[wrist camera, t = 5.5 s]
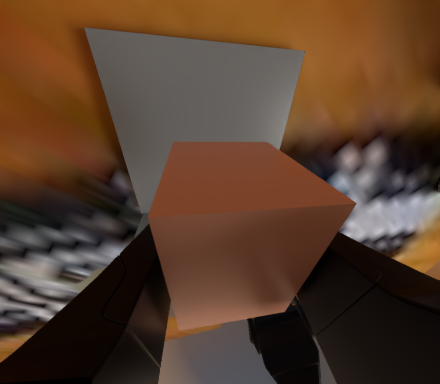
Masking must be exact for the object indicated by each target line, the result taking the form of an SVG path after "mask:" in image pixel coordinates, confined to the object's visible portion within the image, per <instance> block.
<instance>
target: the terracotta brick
mask: <svg viewBox="0 0 440 384" xmlns="http://www.w3.org/2000/svg"><path fill="white" fill-rule="evenodd" d="M356 204H357V203H355V202H354V201H352V200H351V199H350V198H348V197H347V196H345V195H344V194H342V193H341V192H339V191H338V190H336V189H335V188H334V187H332V186H331V185H329V184H328V183H326V182H325V181H323V180H322V179H320V178H319V177H318V176H316V175H315V174H313V173H312V172H310V171H309V170H307V169H306V168H305V167H303V166H302V165H300V164H299V163H297V162H296V161H294V160H293V159H291V158H290V157H289V156H287V155H286V154H284V153H283V152H281V151H280V150H278V149H277V148H275V147H274V146H273V145H271V144H270V143H268V142H173V144H172V147H171V150H170V153H169V156H168V159H167V162H166V165H165V168H164V171H163V174H162V177H161V180H160V183H159V185H158V188H157V191H156V194H155V197H154V200H153V203H152V206H151V209H150V212H149V215H148V221H149V224H150V228H151V231H152V235H153V238H154V242H155V246H156V249H157V253H158V256H159V260H160V263H161V267H162V270H163V274H164V278H165V281H166V285H167V288H168V292H169V295H170V299H171V302H172V306H173V309H174V313H175V317H176V320H177V324H178V327H179V331H181V330H186V329H192V328H197V327H203V326H209V325H214V324H220V323H225V322H230V321H236V320H242V319H248V318H253V317H259V316H264V315H270V314H275V313H281V312H285V310H286V309H287V307H288V306H289V304H290V303H291V301H292V300H293V298H294V297H295V295H296V294H297V292H298V291H299V289H300V288H301V286H302V285H303V283H304V282H305V280H306V279H307V277H308V276H309V274H310V273H311V271H312V270H313V268H314V267H315V265H316V264H317V262H318V261H319V259H320V258H321V256H322V255H323V253H324V252H325V250H326V249H327V247H328V246H329V244H330V243H331V241H332V240H333V238H334V237H335V235H336V234H337V232H338V231H339V229H340V228H341V226H342V225H343V223H344V222H345V220H346V219H347V217H348V216H349V214H350V213H351V211H352V210H353V208H354V207H355V205H356Z"/></svg>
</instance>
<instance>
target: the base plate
mask: <svg viewBox="0 0 440 384" xmlns="http://www.w3.org/2000/svg"><path fill="white" fill-rule="evenodd" d="M84 29H85V32H86V35H87V38H88V42H89V45H90V48H91V51H92V55H93V58H94V61H95V65H96V68H97V71H98V74H99V78H100V81H101V84H102V87H103V91H104V94H105V97H106V100H107V104H108V107H109V110H110V113H111V117H112V120H113V123H114V126H115V130H116V133H117V136H118V140H119V143H120V146H121V149H122V153H123V156H124V159H125V162H126V166H127V169H128V172H129V175H130V179H131V182H132V185H133V188H134V192H135V195H136V198H137V201H138V205H139V208H140V211H141V214H143V213H149V212H150V209H151V206H152V203H153V200H154V197H155V194H156V191H157V188H158V185H159V183H160V180H161V177H162V174H163V171H164V168H165V165H166V162H167V159H168V156H169V153H170V150H171V147H172V144H173V142H268V143H270V144H271V145H273V146H274V147H275V148H277V149H278V150H279V149H280V146H281V142H282V138H283V134H284V130H285V127H286V123H287V119H288V115H289V111H290V107H291V104H292V100H293V96H294V92H295V88H296V85H297V81H298V77H299V73H300V69H301V66H302V62H303V58H304V54H305V51H300V50H291V49H282V48H272V47H263V46H253V45H244V44H235V43H225V42H216V41H206V40H197V39H188V38H178V37H169V36H159V35H150V34H141V33H131V32H122V31H112V30H103V29H94V28H84Z"/></svg>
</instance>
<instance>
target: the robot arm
mask: <svg viewBox="0 0 440 384" xmlns="http://www.w3.org/2000/svg"><path fill="white" fill-rule="evenodd" d="M296 295H297V297H298V299H297V297H296ZM296 295H295V297H294V298H293V300H292V301H291V303H290V304H289V306H288V307H287V309H286V310H285V312H281V313H275V314H270V315H264V316H259V317H253V318H248V319H247V320H248V327H249V335H250V341H251V343H253V344H254V345H255V348H256V350H257V352H258V354H259V355H260V354H262V357H263V361H264V364H265V367H266V369H267V370H268V371H269V373H270V375H271V376H272V377H273V378H274V380H275V381H276V383H277V384H321V372H320V360H319V350H318V348H317V346H316V344H315V342H314V340H313V338H315V337H316V339H317V341H318V344H319V346H320V348H321V350H322V352H323V355H324V357H325V359H326V361H327V363H328V365H329V367H330V370H331V372H332V374H333V376H334V378H335V380H336V383H337V384H440V280H437V279H435V278H432V277H430V276H428V275H426V274H424V273H421V272H419V271H417V270H415V269H413V268H411V267H409V266H407V265H405V264H402V263H400V262H398V261H396V260H394V259H392V258H390V257H388V256H386V255H384V254H382V253H379V252H377V251H375V250H373V249H371V248H369V247H367V246H365V245H363V244H361V243H359V242H357V241H355V240H353V239H352V238H350V237H348V236H346V235H344V234H342V233H340V232H337V234H336V235H335V237H334V238H333V240H332V241H331V243H330V244H329V246H328V247H327V249H326V250H325V252H324V253H323V255H322V256H321V258H320V259H319V261H318V262H317V264H316V265H315V267H314V268H313V270H312V271H311V273H310V274H309V276H308V277H307V279H306V280H305V282H304V283H303V285H302V286H301V288H300V289H299V291H298V292H297V294H296ZM298 300H299V301H298ZM170 302H171V299H170V295H169V292H168V288H167V285H166V281H165V278H164V274H163V270H162V267H161V263H160V260H159V256H158V253H157V249H156V246H155V242H154V238H153V235H152V231H151V228H150V224H148V225H147V226H146V227H145V228H144V229H143V230H142V231H141V232H140V233H139V234H138V235H137V236H136V237H135V238H134V240H133V241H132V242H131V243H130V244H129V245H128V246H127V247H126V248H125V249H124V250H123V251H122V252H121V253H120V255H118V256H117V257H116V258H115V259H114V260H113V261H112V262H111V263H110V264H109V265H108V266H107V267H106V268H105V269H104V271H102V273H101V274H100V275H99V276H98V277H97V278H95V279H94V280H93V281H92V282H91V283H90V284H89V285H88V286H87V287H86V288H85V289H84V290H83V291H82V292H80V293H79V294H78V295H77V296H76V297H75V298H74V299H73V300H72V301H70V302H69V303H68V304H67V305H66V306H65V307H64V308H63V309H62V310H60V311H59V312H58V313H57V314H56V315H55V316H54V317H53V318H52V319H50V320H49V321H48V322H47V323H46V324H45V325H44V326H43V327H42V328H41V329H39V330H38V331H37V332H36V333H35V334H34V335H33V336H32V337H31V338H29V339H28V340H27V341H26V342H25V343H24V344H23V345H21V346H20V347H19V348H18V349H17V350H16V351H14V352H13V353H12V354H11V355H9V356H8V357H7V358H6V359H4V360H3V361H2V362H0V384H158V380H159V373H160V367H161V361H162V354H163V348H164V341H165V335H166V328H167V322H168V315H169V309H170ZM292 304H294V305H292Z"/></svg>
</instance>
